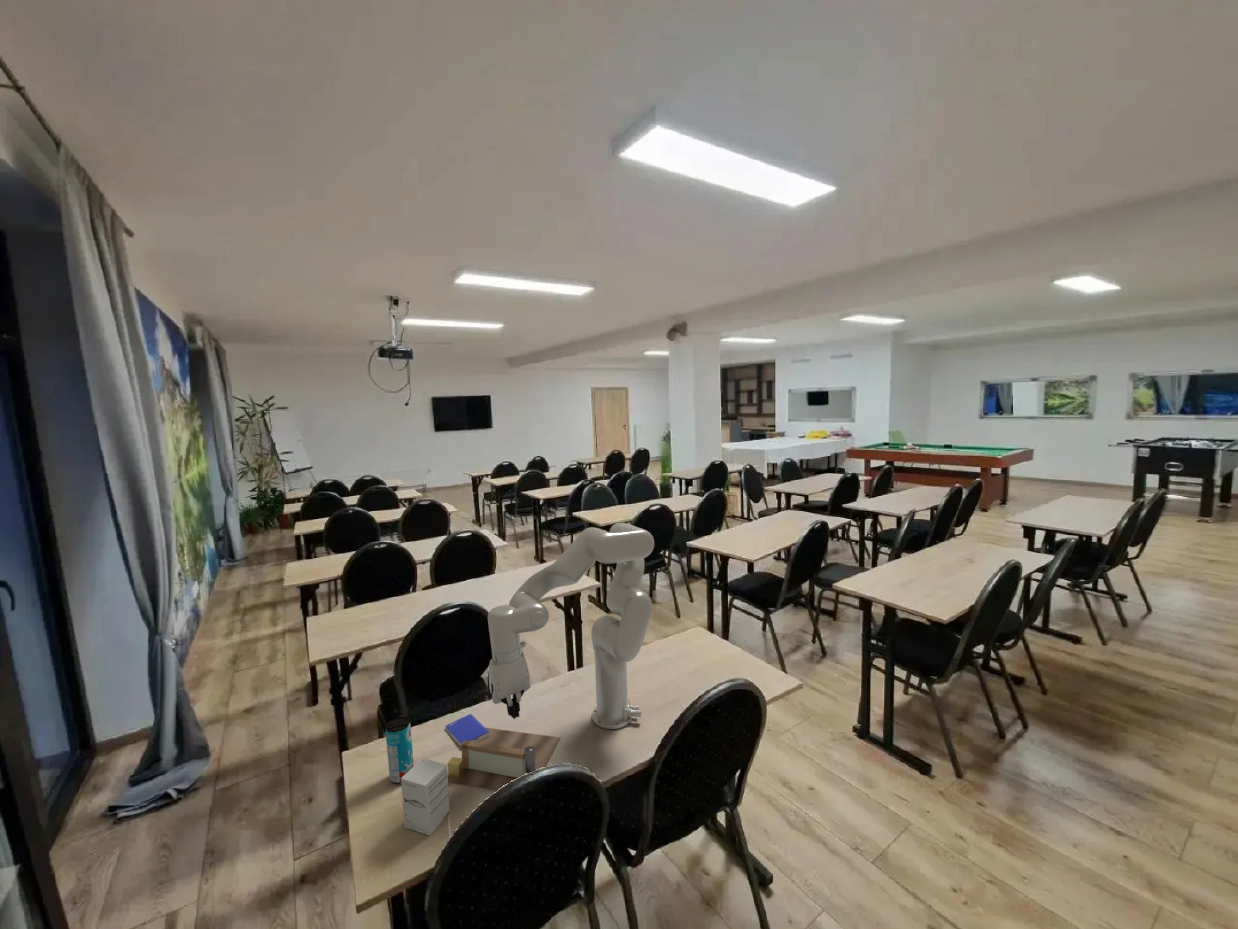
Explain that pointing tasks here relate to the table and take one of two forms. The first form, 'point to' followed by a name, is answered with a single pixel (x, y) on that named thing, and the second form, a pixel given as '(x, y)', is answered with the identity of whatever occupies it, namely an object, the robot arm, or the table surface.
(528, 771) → the gate posts
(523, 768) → the brown and grey board
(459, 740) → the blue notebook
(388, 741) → the beverage can
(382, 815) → the table surface
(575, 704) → the table surface
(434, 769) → the supplement box
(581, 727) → the table surface
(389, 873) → the table surface
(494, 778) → the board
